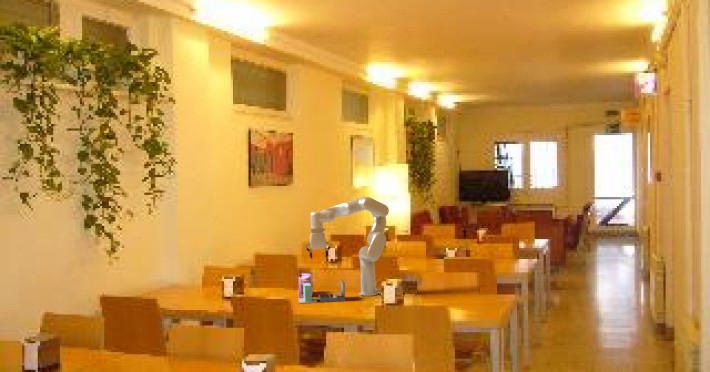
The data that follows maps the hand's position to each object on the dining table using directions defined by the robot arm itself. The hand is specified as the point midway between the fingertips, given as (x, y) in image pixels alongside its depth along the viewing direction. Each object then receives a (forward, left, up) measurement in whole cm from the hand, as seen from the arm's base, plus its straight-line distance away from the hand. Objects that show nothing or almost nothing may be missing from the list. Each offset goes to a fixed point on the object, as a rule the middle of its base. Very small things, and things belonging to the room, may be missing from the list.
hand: (319, 257), depth 519 cm
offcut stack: (-11, +6, -27) cm, 29 cm away
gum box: (+8, -19, -27) cm, 34 cm away
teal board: (+9, +6, -26) cm, 28 cm away
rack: (-6, +6, -26) cm, 28 cm away
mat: (+9, +6, -26) cm, 28 cm away
